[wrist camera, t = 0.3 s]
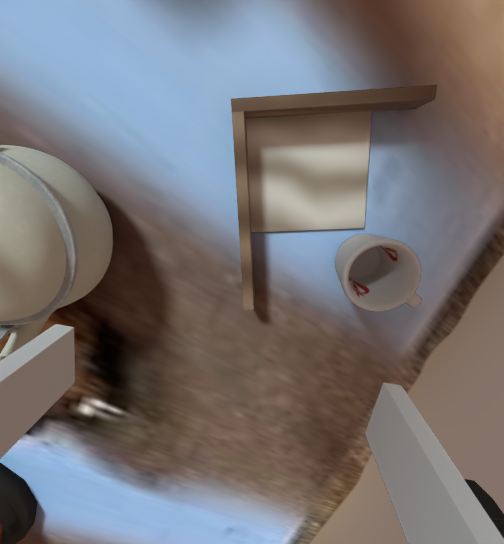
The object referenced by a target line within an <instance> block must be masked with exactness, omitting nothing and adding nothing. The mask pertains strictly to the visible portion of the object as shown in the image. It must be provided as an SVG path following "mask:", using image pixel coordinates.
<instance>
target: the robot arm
mask: <svg viewBox="0 0 504 544" xmlns="http://www.w3.org/2000/svg"><path fill="white" fill-rule="evenodd" d="M74 382H75V372H74V327H70V326H64V325H58V324H55V325H54V326H52V327H51V328H49V329H48V330H46V331H45V332H43V333H42V334H40V335H39V336H37V337H36V338H34V339H33V340H31V341H30V342H28V343H27V344H25V345H24V346H22V347H21V348H19V349H18V350H16V351H15V352H13V353H12V354H10V355H9V356H7V357H6V358H4V359H3V360H1V361H0V459H1V458H2V457H3V456H4V455H5V454H6V452H7V451H8V450H9V449H10V448H11V447H12V446H13V445H14V444H15V443H16V442H17V441H18V440H19V439H20V438H21V437H22V436H23V435H24V434H25V433H26V432H27V431H28V430H29V429H30V428H31V427H32V426H33V425H34V424H35V423H36V422H37V421H38V419H39V418H40V417H41V416H42V415H43V414H44V413H45V412H46V411H47V410H48V409H49V408H50V407H51V406H52V405H53V404H54V403H55V402H56V401H57V400H58V399H59V398H60V397H61V396H62V395H63V394H64V393H65V392H66V391H67V390H68V389H69V388H70V386H71V385H72V384H73V383H74ZM365 435H366V438H367V441H368V443H369V446H370V448H371V451H372V453H373V456H374V458H375V461H376V463H377V466H378V469H379V471H380V474H381V476H382V479H383V481H384V484H385V486H386V489H387V491H388V494H389V497H390V499H391V502H392V504H393V507H394V509H395V512H396V514H397V517H398V519H399V522H400V525H401V527H402V529H403V532H404V535H405V537H406V540H407V542H408V544H504V514H503V512H502V511H501V510H500V508H499V507H498V505H497V504H496V503H495V501H494V500H493V499H492V498H491V497H490V496H489V495H488V494H487V493H486V492H485V491H484V490H483V489H482V488H481V487H480V486H479V485H478V484H477V483H476V482H475V481H472V480H467V479H463V477H462V476H461V474H460V473H459V471H458V470H457V468H456V467H455V465H454V464H453V462H452V461H451V459H450V458H449V456H448V455H447V453H446V452H445V450H444V449H443V447H442V446H441V444H440V443H439V441H438V440H437V438H436V437H435V435H434V434H433V432H432V431H431V429H430V428H429V426H428V425H427V423H426V422H425V420H424V419H423V417H422V416H421V414H420V413H419V411H418V410H417V408H416V407H415V405H414V404H413V402H412V401H411V399H410V398H409V396H408V395H407V393H406V392H405V390H404V389H403V387H402V386H401V385H395V384H390V383H384V382H383V385H382V388H381V390H380V393H379V396H378V399H377V401H376V404H375V407H374V410H373V413H372V415H371V418H370V421H369V424H368V426H367V429H366V432H365Z"/></svg>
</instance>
